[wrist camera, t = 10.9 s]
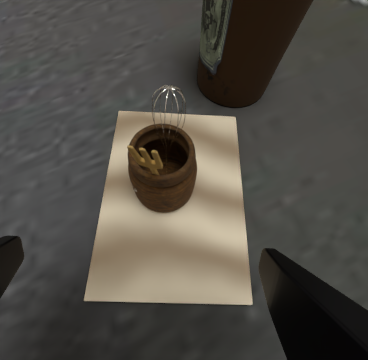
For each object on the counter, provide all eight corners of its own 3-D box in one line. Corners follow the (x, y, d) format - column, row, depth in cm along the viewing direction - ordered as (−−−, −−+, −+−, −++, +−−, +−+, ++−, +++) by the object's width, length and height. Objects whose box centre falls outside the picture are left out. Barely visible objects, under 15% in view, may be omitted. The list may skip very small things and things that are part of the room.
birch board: (248, 304, 20) (252, 305, 19) (87, 300, 20) (83, 300, 19) (233, 122, 29) (235, 116, 28) (120, 116, 28) (118, 110, 27)
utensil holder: (197, 167, 24) (218, 71, 14) (186, 223, 22) (201, 161, 11) (144, 156, 25) (122, 54, 14) (126, 211, 22) (82, 138, 11)
